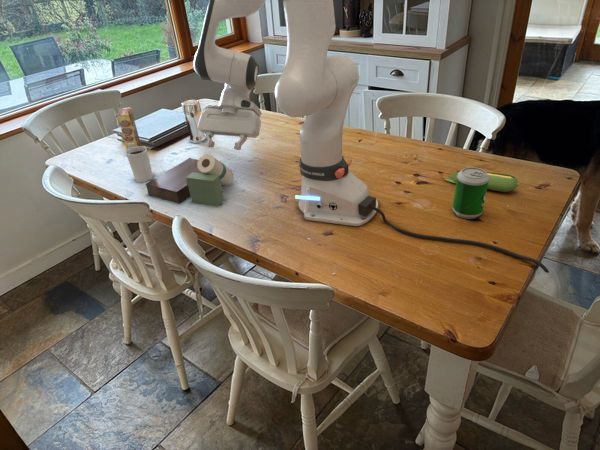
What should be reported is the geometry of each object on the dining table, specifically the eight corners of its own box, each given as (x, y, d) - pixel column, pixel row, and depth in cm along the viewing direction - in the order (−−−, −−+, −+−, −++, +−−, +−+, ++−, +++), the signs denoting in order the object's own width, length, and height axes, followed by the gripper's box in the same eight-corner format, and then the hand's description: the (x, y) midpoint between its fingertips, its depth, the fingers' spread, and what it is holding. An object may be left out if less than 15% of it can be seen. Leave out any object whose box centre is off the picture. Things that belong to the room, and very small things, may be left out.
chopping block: (221, 175, 143) (219, 164, 141) (179, 203, 129) (176, 191, 127) (191, 168, 149) (189, 157, 147) (148, 195, 135) (145, 183, 133)
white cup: (144, 172, 149) (136, 145, 144) (158, 175, 146) (151, 148, 141) (129, 180, 145) (120, 152, 139) (143, 184, 142) (135, 156, 136)
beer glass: (203, 143, 167) (195, 105, 159) (186, 143, 169) (177, 105, 161) (209, 136, 173) (202, 99, 165) (193, 136, 174) (185, 99, 166)
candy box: (140, 153, 163) (128, 114, 155) (128, 155, 163) (116, 115, 154) (141, 144, 170) (131, 106, 162) (130, 146, 170) (119, 108, 161)
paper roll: (222, 178, 141) (214, 141, 134) (237, 180, 139) (231, 142, 132) (201, 198, 131) (192, 159, 124) (217, 200, 129) (209, 160, 122)
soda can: (478, 223, 110) (486, 181, 104) (448, 216, 114) (454, 175, 107) (484, 209, 116) (493, 168, 109) (456, 203, 119) (462, 163, 113)
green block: (197, 196, 132) (192, 172, 128) (223, 200, 129) (219, 175, 125) (191, 202, 129) (185, 177, 125) (218, 206, 127) (213, 180, 122)
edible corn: (515, 196, 120) (519, 182, 117) (442, 184, 128) (443, 170, 126) (517, 188, 124) (521, 174, 121) (446, 176, 132) (447, 163, 130)
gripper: (199, 100, 136) (189, 141, 134) (258, 103, 130) (248, 146, 128) (209, 109, 142) (199, 149, 140) (266, 112, 136) (256, 154, 133)
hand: (223, 148), depth 134 cm, fingers open, 8 cm apart
